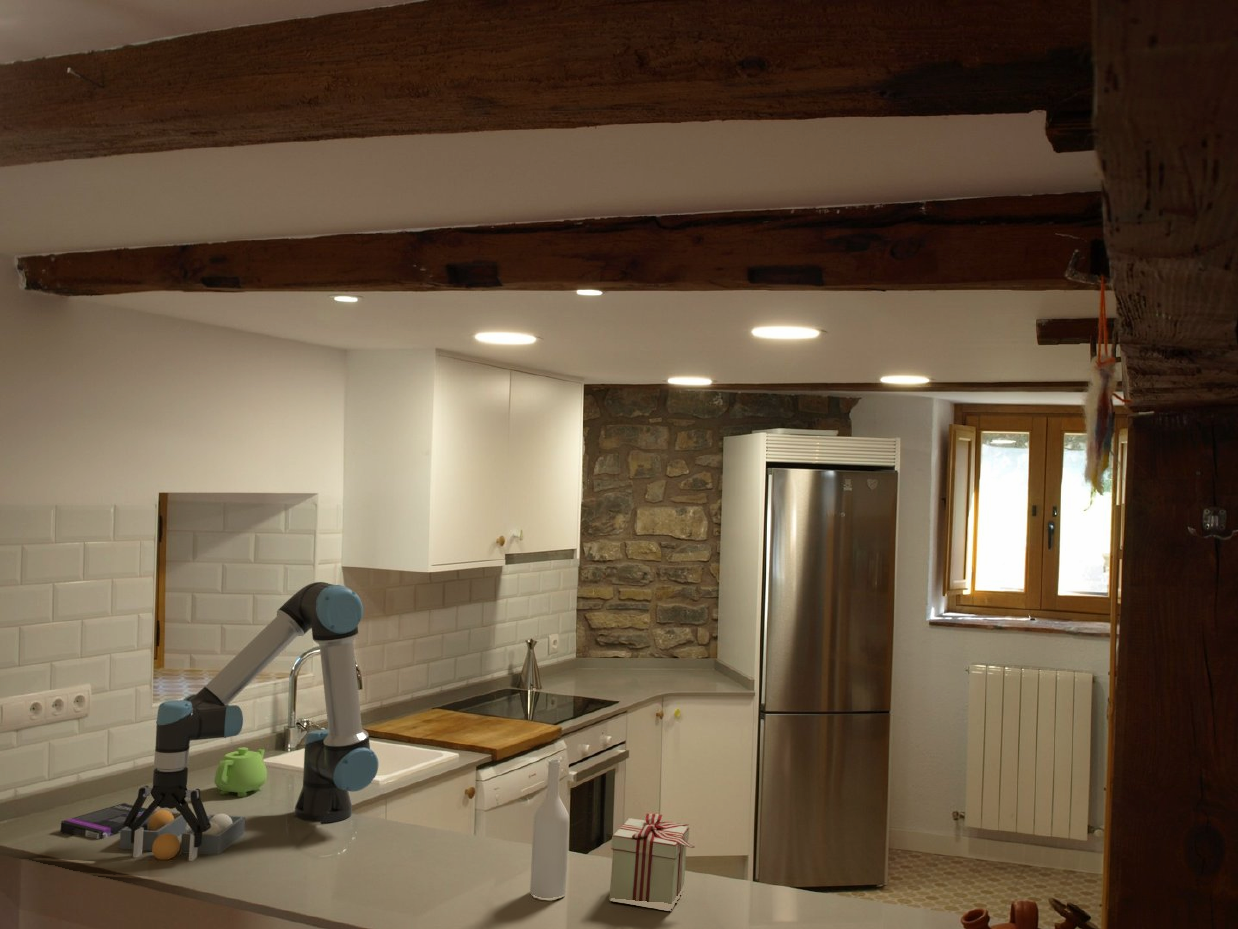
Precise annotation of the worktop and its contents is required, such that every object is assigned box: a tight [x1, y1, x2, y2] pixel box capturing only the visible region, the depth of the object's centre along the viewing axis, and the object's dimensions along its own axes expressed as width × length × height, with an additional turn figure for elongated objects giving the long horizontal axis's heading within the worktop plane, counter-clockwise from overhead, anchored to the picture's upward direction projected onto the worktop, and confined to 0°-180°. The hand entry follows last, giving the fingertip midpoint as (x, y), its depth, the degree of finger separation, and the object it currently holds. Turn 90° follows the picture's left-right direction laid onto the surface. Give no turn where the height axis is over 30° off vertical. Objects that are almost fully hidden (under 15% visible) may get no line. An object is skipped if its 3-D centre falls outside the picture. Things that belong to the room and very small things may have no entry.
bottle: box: [529, 758, 570, 898], centre depth 237 cm, size 8×8×30 cm
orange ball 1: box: [148, 809, 174, 831], centre depth 262 cm, size 6×6×6 cm
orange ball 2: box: [151, 833, 181, 861], centre depth 247 cm, size 6×6×6 cm
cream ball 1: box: [202, 822, 221, 835], centre depth 254 cm, size 6×6×6 cm
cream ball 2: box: [209, 813, 233, 832], centre depth 261 cm, size 6×6×6 cm
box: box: [60, 802, 148, 840], centre depth 268 cm, size 14×4×20 cm
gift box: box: [609, 813, 696, 904], centre depth 238 cm, size 17×18×17 cm
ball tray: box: [119, 810, 246, 863], centre depth 255 cm, size 26×22×5 cm
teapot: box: [214, 746, 268, 798], centre depth 304 cm, size 20×13×13 cm
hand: (165, 859), depth 246 cm, fingers open, 13 cm apart
